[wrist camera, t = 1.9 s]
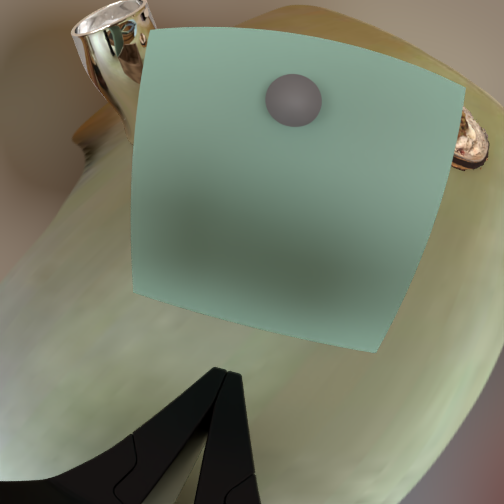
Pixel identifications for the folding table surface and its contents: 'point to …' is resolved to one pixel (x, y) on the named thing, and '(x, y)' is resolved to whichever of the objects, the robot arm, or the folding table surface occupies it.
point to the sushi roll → (470, 144)
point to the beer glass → (116, 54)
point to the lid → (286, 179)
